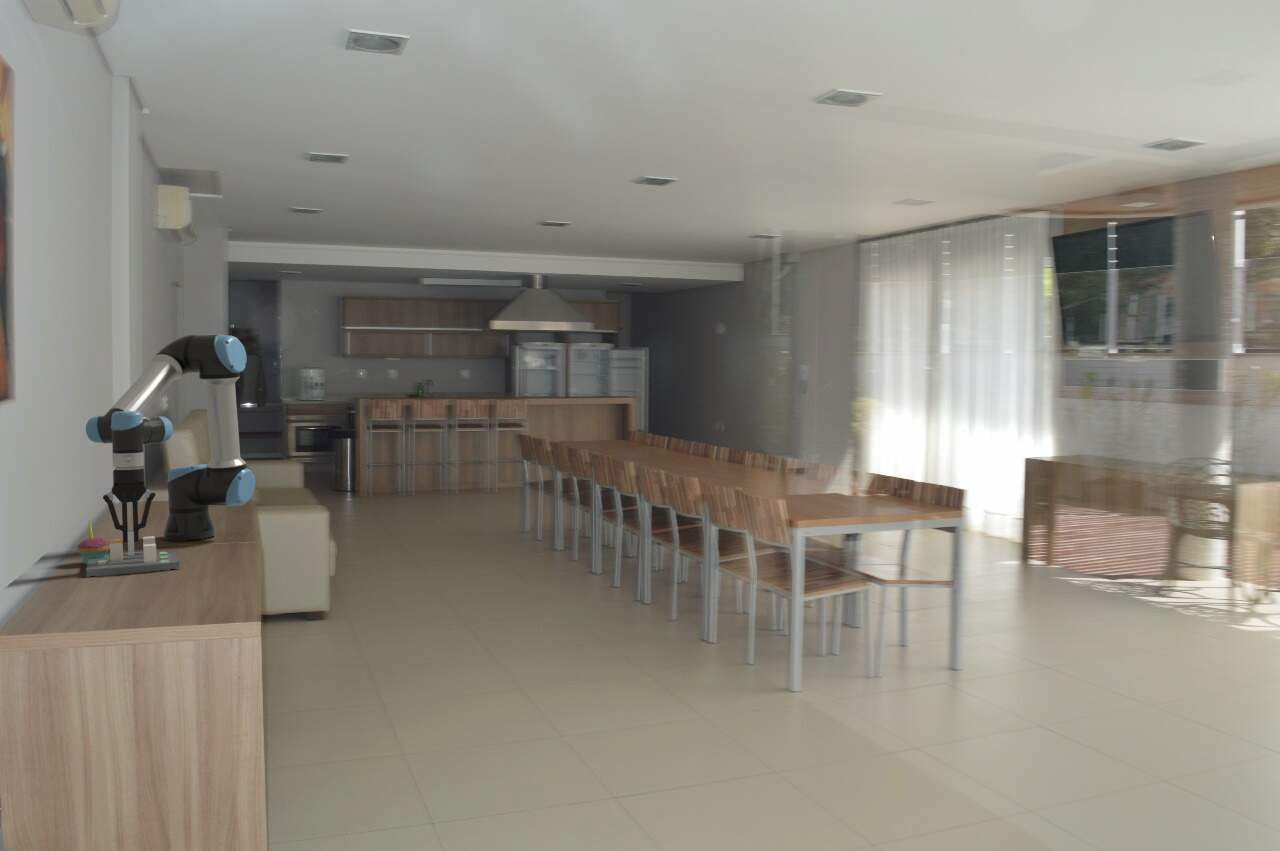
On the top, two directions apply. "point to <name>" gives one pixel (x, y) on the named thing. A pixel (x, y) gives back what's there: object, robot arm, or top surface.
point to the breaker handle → (116, 550)
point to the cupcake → (93, 547)
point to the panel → (134, 562)
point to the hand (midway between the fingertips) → (131, 554)
